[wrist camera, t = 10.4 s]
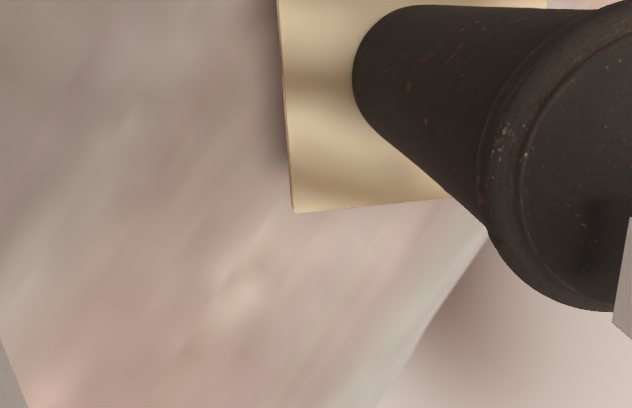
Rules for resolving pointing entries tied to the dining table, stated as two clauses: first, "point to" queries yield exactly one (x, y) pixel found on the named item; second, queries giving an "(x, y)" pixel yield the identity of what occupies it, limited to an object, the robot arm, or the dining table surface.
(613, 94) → the container
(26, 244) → the dining table surface
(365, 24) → the footstool
